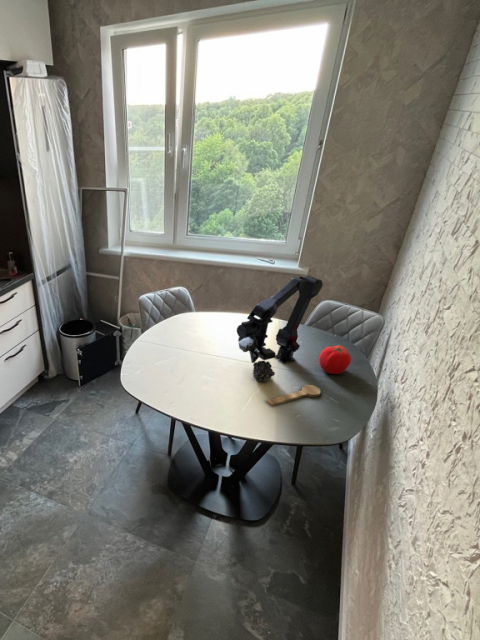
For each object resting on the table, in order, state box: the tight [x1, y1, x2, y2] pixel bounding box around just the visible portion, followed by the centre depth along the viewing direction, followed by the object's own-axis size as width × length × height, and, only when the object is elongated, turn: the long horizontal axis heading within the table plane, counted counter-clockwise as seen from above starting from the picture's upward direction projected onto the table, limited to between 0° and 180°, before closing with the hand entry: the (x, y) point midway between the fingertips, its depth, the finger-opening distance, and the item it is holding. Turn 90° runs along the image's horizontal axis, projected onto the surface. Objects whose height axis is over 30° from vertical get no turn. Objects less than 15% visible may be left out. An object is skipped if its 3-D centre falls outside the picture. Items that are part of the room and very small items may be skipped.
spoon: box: [267, 384, 322, 407], centre depth 164 cm, size 24×7×1 cm, turn 109°
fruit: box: [252, 360, 276, 383], centre depth 176 cm, size 9×8×15 cm
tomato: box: [318, 344, 352, 375], centre depth 176 cm, size 12×13×12 cm
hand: (252, 362), depth 181 cm, fingers closed
